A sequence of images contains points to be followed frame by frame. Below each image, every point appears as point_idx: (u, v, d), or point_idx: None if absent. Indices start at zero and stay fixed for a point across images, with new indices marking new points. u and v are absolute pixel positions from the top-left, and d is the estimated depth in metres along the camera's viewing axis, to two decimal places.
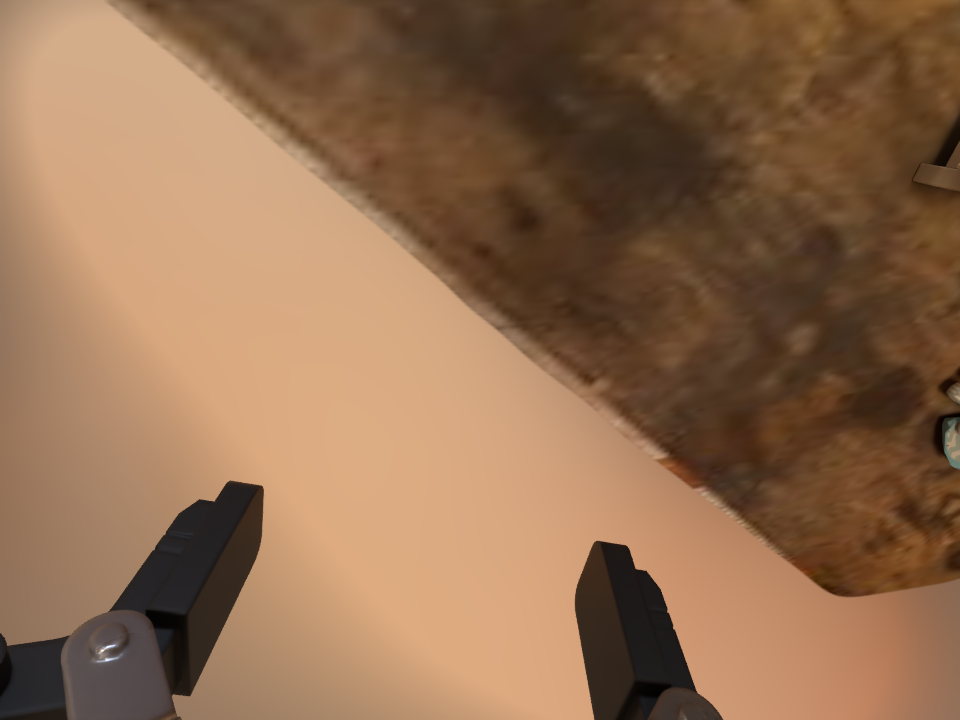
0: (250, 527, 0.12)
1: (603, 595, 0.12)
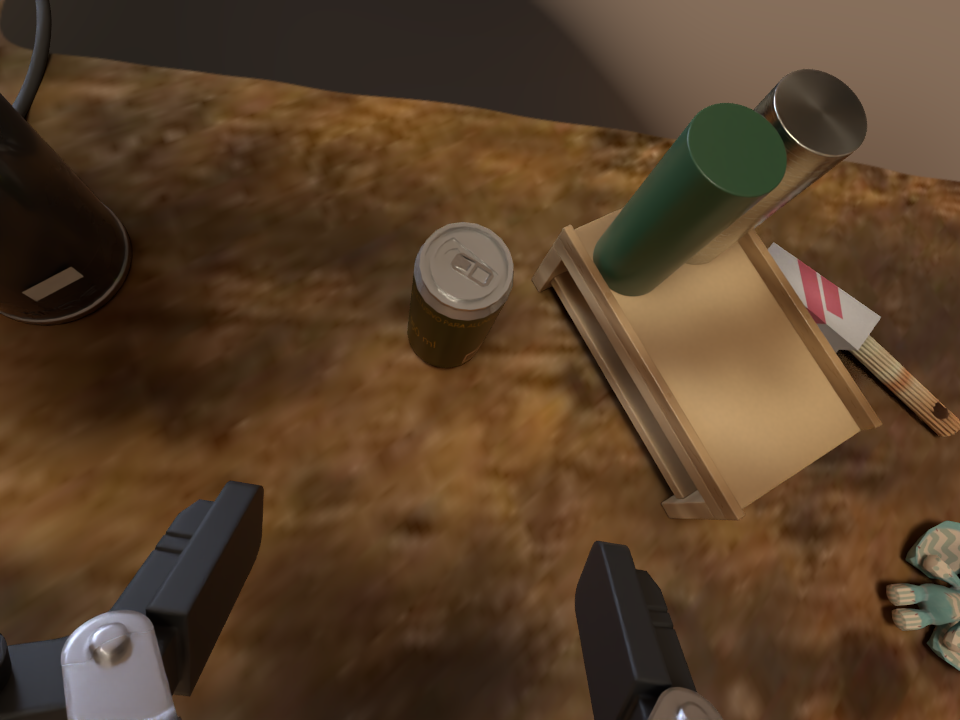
0: (250, 527, 0.12)
1: (603, 595, 0.12)
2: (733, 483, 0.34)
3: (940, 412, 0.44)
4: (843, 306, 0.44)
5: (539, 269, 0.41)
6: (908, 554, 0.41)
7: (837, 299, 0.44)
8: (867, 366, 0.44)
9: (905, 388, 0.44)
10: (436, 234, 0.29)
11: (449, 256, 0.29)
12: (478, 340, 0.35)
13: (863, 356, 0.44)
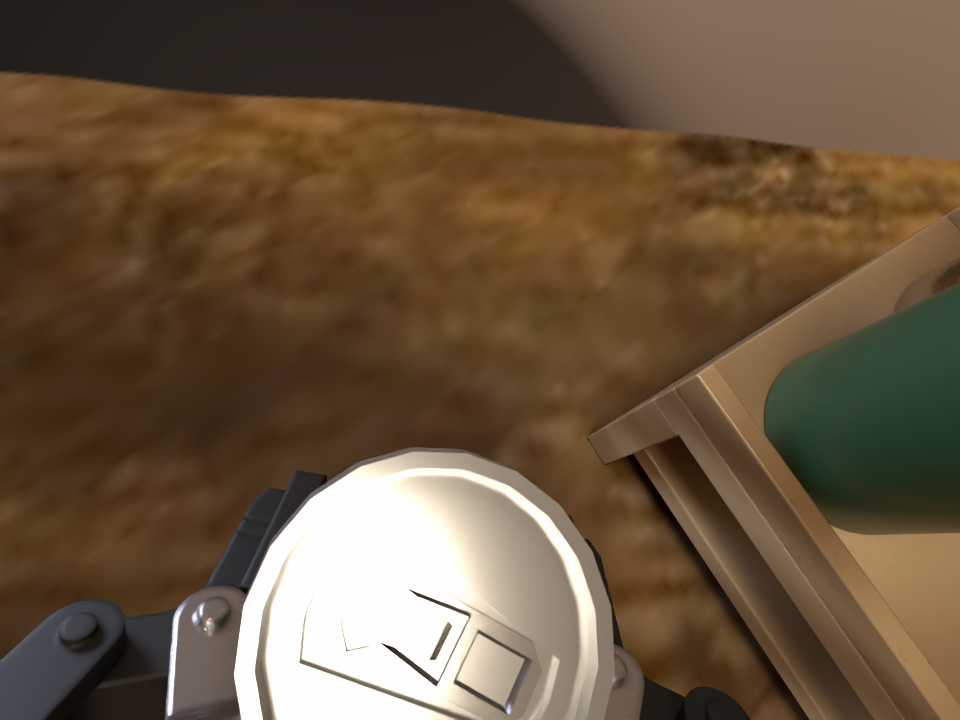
0: None
1: None
2: None
3: None
4: None
5: (609, 429, 0.19)
6: None
7: None
8: None
9: None
10: (311, 516, 0.08)
11: (368, 593, 0.08)
12: None
13: None
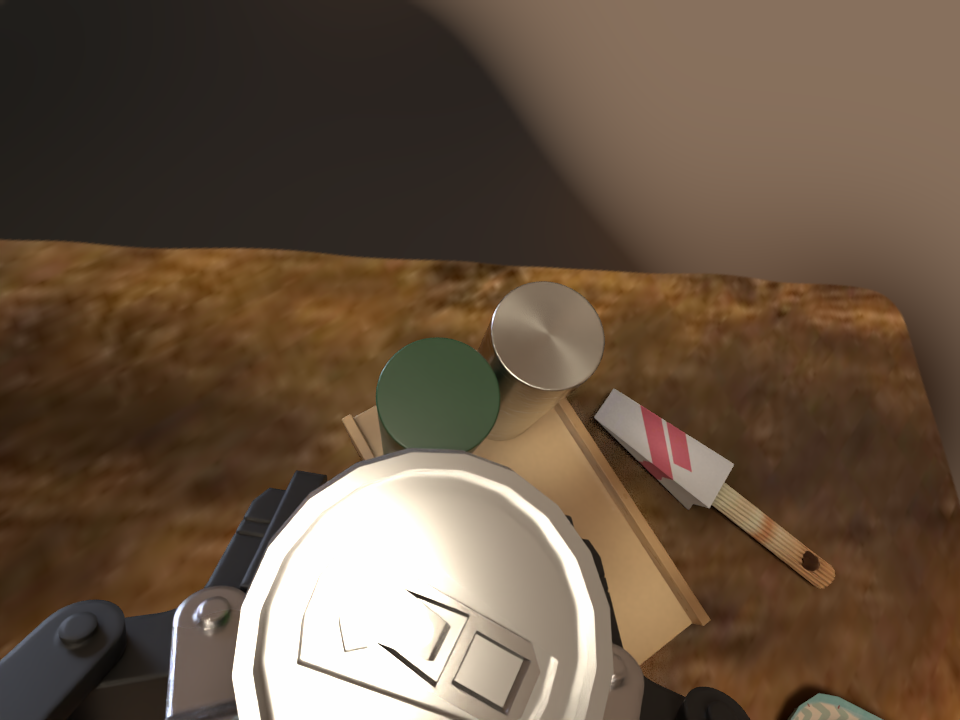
0: None
1: None
2: None
3: (812, 560, 0.40)
4: (692, 456, 0.40)
5: None
6: None
7: (685, 448, 0.40)
8: (727, 516, 0.40)
9: (769, 540, 0.40)
10: (309, 517, 0.08)
11: (366, 594, 0.08)
12: None
13: (720, 508, 0.40)
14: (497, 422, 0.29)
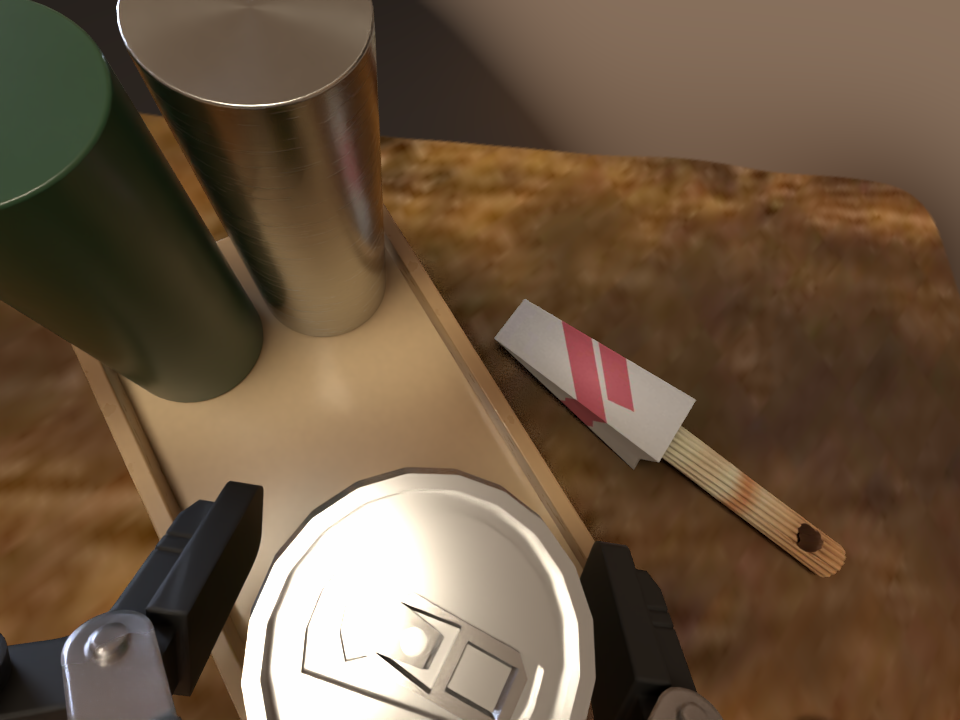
0: (250, 527, 0.12)
1: (604, 595, 0.12)
2: None
3: (811, 537, 0.28)
4: (635, 389, 0.28)
5: None
6: None
7: (624, 378, 0.28)
8: (689, 477, 0.28)
9: (749, 509, 0.27)
10: (312, 535, 0.08)
11: (366, 606, 0.08)
12: None
13: (678, 463, 0.28)
14: (269, 276, 0.17)
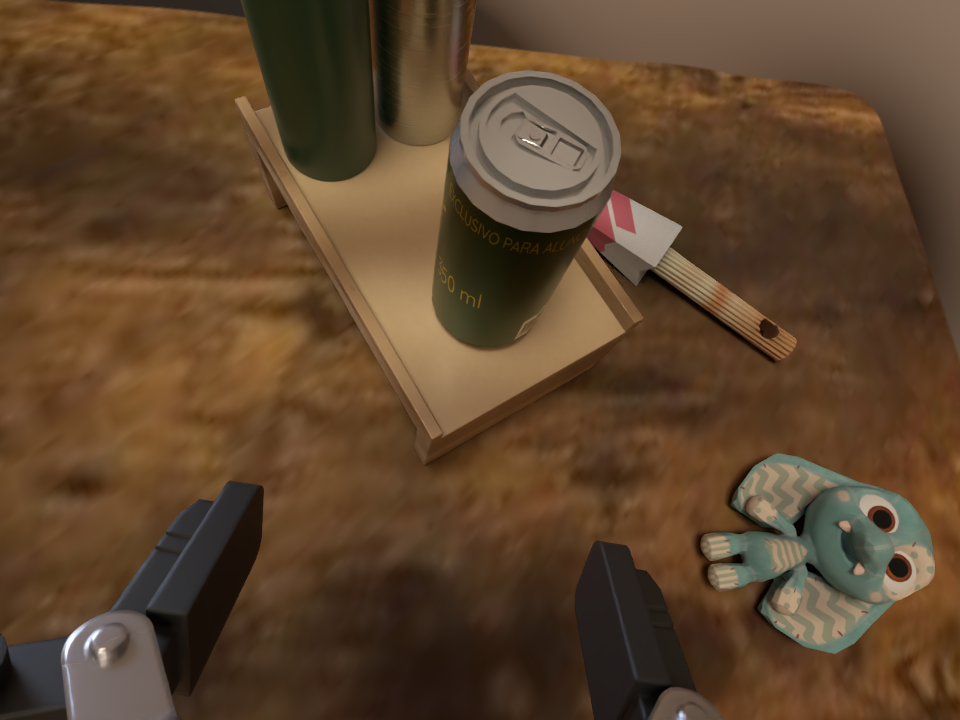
0: (250, 527, 0.12)
1: (603, 595, 0.12)
2: (445, 399, 0.26)
3: (771, 331, 0.37)
4: (636, 219, 0.36)
5: (262, 175, 0.34)
6: (732, 498, 0.33)
7: (628, 212, 0.37)
8: (678, 288, 0.37)
9: (724, 308, 0.36)
10: (485, 88, 0.17)
11: (509, 126, 0.17)
12: (548, 291, 0.22)
13: (669, 276, 0.36)
14: (398, 72, 0.26)
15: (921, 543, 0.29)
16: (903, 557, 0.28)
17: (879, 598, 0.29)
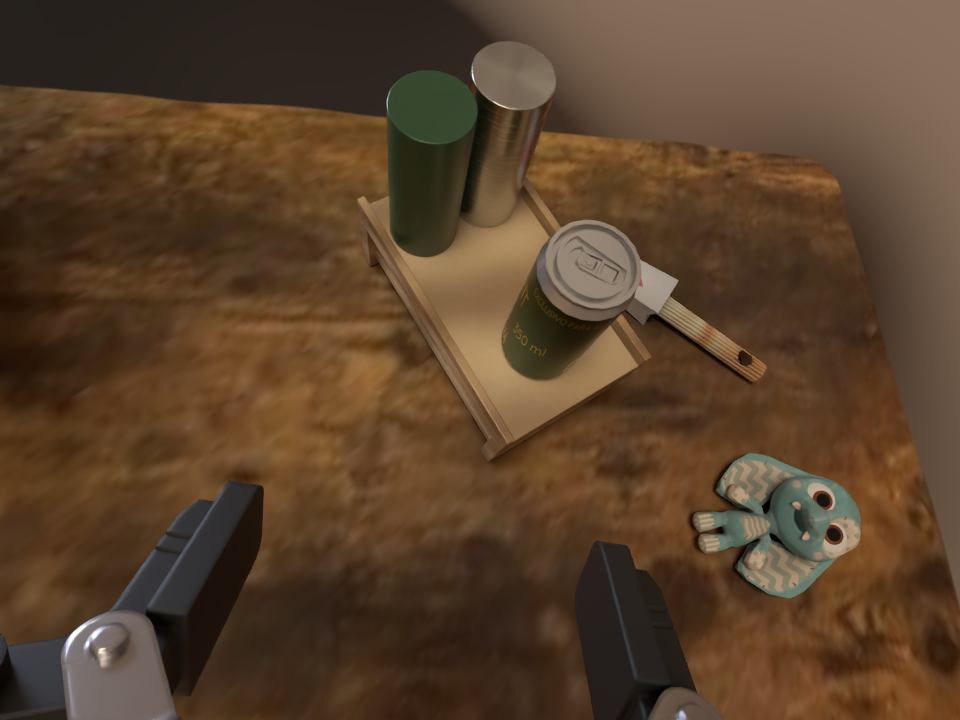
0: (250, 527, 0.12)
1: (603, 595, 0.12)
2: (512, 415, 0.37)
3: (747, 360, 0.48)
4: (643, 275, 0.47)
5: (362, 244, 0.45)
6: (717, 486, 0.44)
7: None
8: (675, 327, 0.48)
9: (710, 342, 0.47)
10: (559, 233, 0.28)
11: (574, 255, 0.28)
12: (589, 345, 0.33)
13: (669, 318, 0.48)
14: (480, 187, 0.37)
15: (850, 517, 0.40)
16: (837, 527, 0.40)
17: (820, 557, 0.40)
